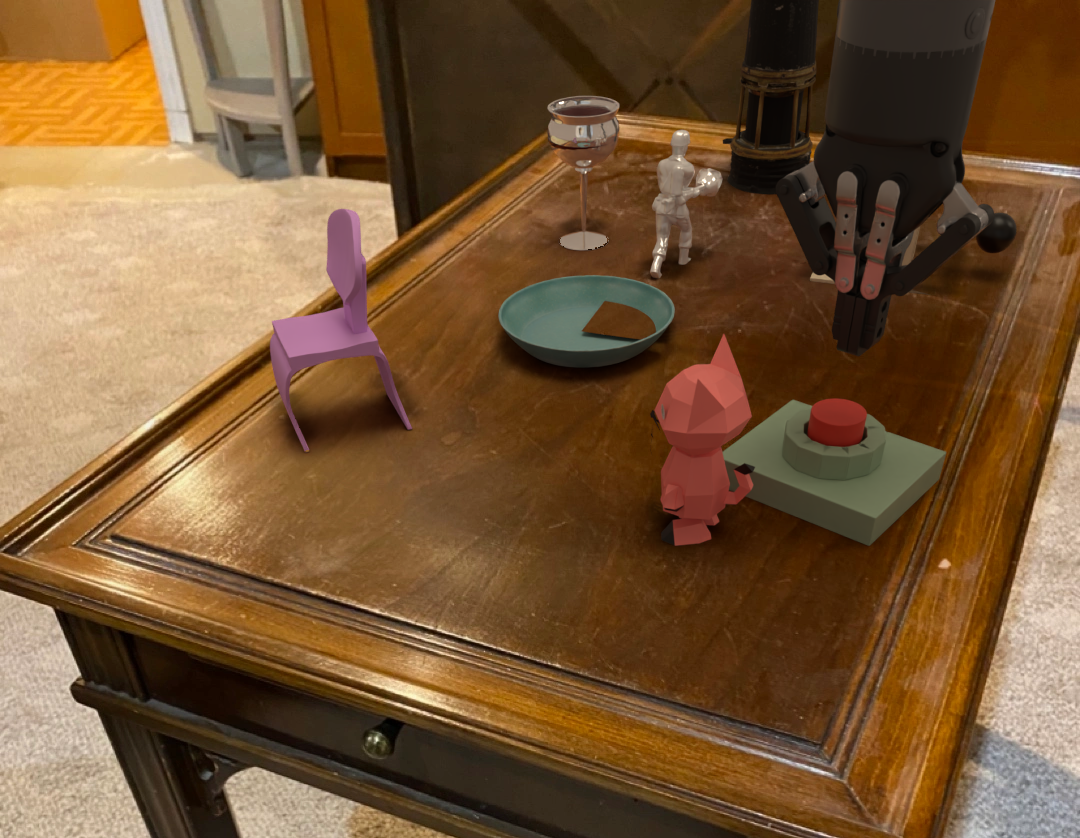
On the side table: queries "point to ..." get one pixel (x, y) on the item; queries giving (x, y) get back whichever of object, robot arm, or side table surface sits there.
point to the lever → (997, 234)
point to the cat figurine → (701, 445)
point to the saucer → (580, 319)
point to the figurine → (678, 199)
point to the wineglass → (583, 149)
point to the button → (837, 422)
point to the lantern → (774, 94)
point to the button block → (834, 473)
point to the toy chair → (332, 320)
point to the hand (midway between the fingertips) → (854, 348)
